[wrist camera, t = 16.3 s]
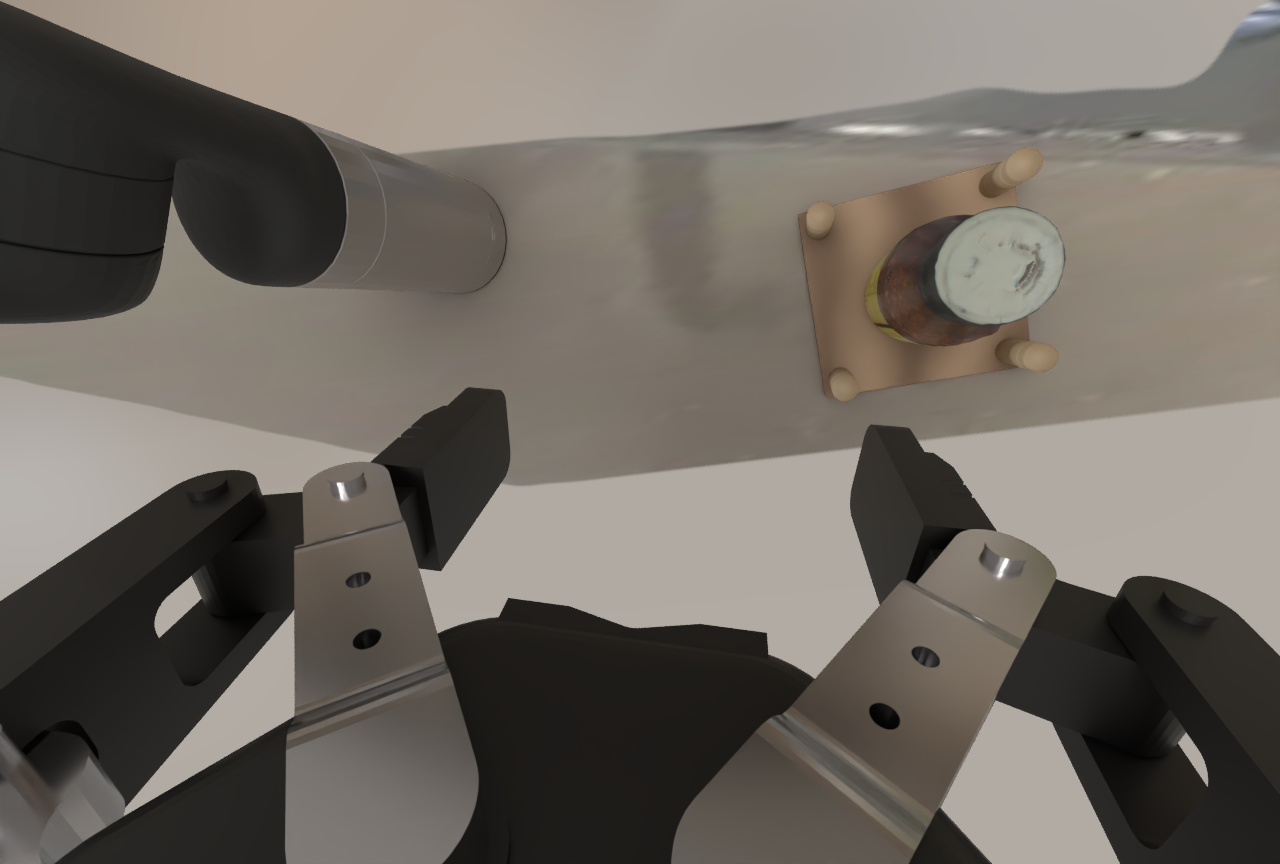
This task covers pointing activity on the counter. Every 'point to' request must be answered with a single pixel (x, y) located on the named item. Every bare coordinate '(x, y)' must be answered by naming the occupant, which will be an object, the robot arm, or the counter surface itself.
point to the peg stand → (854, 245)
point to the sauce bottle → (965, 276)
